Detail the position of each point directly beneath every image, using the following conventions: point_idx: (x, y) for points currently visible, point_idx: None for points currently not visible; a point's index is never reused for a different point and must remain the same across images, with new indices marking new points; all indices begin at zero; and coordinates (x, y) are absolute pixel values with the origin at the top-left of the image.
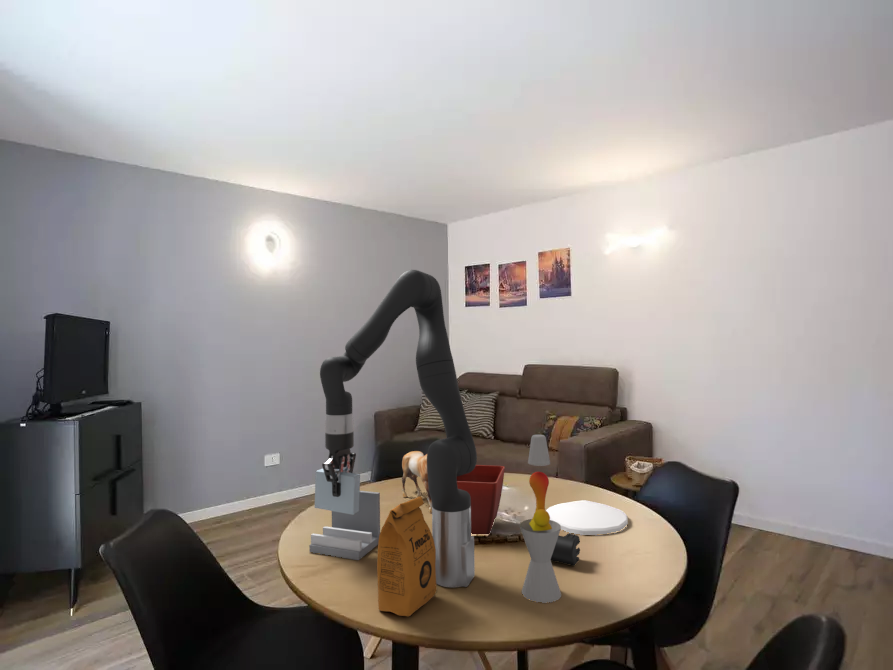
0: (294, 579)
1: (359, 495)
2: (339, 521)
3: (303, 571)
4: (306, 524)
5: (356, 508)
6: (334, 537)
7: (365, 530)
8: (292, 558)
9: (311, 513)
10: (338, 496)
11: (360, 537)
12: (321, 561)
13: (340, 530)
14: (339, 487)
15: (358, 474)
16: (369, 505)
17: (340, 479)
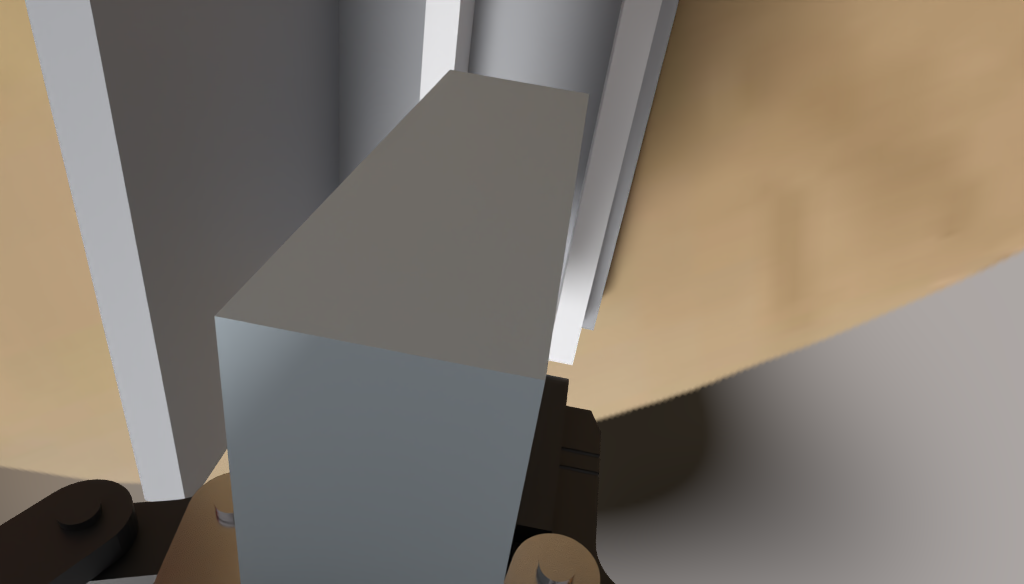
0: (996, 251)
1: (157, 193)
2: None
3: (877, 242)
4: None
5: (504, 94)
6: (600, 195)
7: (323, 12)
8: (684, 359)
9: (92, 461)
10: (567, 385)
11: (469, 2)
12: (722, 189)
13: None
14: (553, 469)
15: (264, 349)
16: (200, 14)
17: (514, 574)
